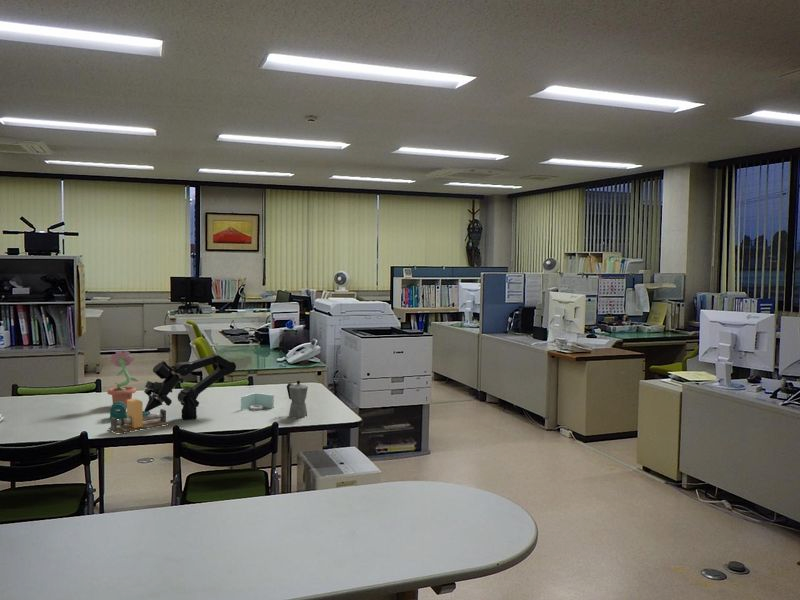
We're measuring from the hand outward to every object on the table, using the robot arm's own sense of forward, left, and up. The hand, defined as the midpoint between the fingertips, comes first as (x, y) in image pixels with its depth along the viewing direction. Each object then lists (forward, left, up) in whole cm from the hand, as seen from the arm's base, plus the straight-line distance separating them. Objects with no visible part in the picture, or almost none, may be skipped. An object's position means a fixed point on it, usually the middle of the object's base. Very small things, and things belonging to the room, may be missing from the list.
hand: (145, 411), depth 294 cm
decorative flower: (+16, -41, -7) cm, 45 cm away
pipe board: (+3, +1, -7) cm, 8 cm away
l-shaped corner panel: (-52, -24, -8) cm, 58 cm away
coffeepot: (-71, -7, -7) cm, 72 cm away
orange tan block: (+4, +2, -6) cm, 8 cm away
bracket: (+9, -18, -8) cm, 21 cm away
